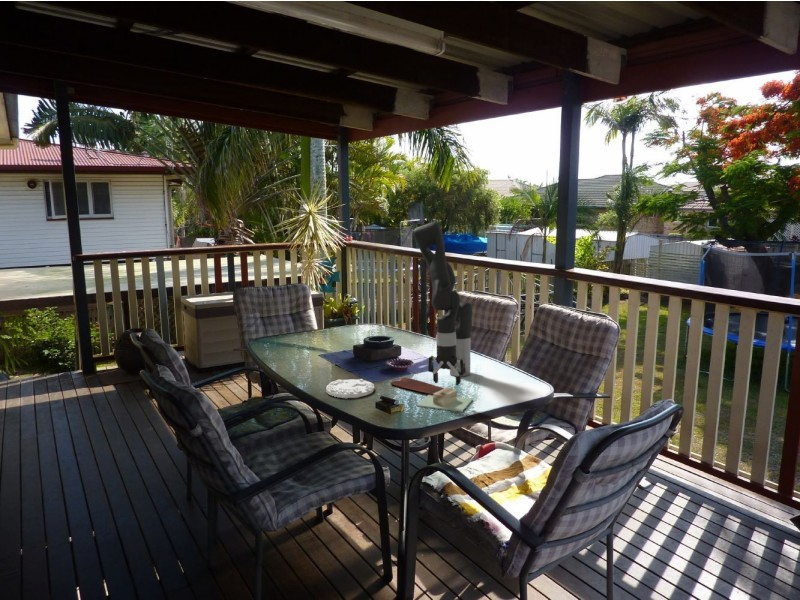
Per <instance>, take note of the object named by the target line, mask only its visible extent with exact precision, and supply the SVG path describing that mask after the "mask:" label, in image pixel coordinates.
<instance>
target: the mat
mask: <svg viewBox="0 0 800 600" xmlns="http://www.w3.org/2000/svg"><path fill="white" fill-rule="evenodd" d="M472 400H473V401H474V399H473V398H469V397H461V396H457V400H456V401H454V402H452V403H450V404H448V405H446V406H440V405H436V404H433V394H429V393H428V394H427V395H426V397H424V398H423V399H422V400H421V401H420V402H419V403H417V404H416V407H419V408H425V407H426V408H427V409H433V408H435V409H434V410H440V409H442V410H441V411H448V410H453V411H452V412H456V411H460V412H459V413H463V412H464V411H465V410H466V409H467V407H469V405H470V404H471V403H472V402H473V401H472ZM471 401H472V402H471ZM465 408H466V409H465ZM464 409H465V410H464ZM463 410H464V411H463Z"/></svg>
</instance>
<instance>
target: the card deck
mask: <svg viewBox="0 0 800 600" xmlns="http://www.w3.org/2000/svg"><path fill="white" fill-rule="evenodd" d="M457 397H458V390H457V389H455V388H454V389H453V388H450V387H445V388H444V389H442V390H440V391H438V392H436V393H434V394H433V404H436V405H440V406H446V405H448V404H450V403H452V402H454V401H456V400H457Z"/></svg>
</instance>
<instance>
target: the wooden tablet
mask: <svg viewBox="0 0 800 600" xmlns="http://www.w3.org/2000/svg"><path fill="white" fill-rule="evenodd" d="M390 384H391V385H392V386H396V387H399V388H404V389H408V390H413V391H416V392H419V393H420V392H421V393H425V394H428V395H429V394H434V393H436V392H438V391H440V390H442V389H445V388H444V387H442V386H438V385H434V384H432V383H428V382H425V381H422V380H419V379H414V378H409V377H402V378H401V379H399V380H392V381H391V382H389V385H390Z"/></svg>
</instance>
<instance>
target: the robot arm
mask: <svg viewBox="0 0 800 600" xmlns="http://www.w3.org/2000/svg"><path fill="white" fill-rule="evenodd" d="M412 233H413V238H414V241H415V242H416V244H417V247H418V249H419V251H420V252H421V254H422V257H423V259H424V261H425V263H426V265H427V268H428V270H429V276H430V280H431V285H432V296H431V306H432V308H433V309H434V310H435V311H444V313H445V314H442V315H440V316H438V317H437V318H436V338H435V339H436V341H435V342H436V356H434V355H431V356H429V357H428V365H427V366H428V367H427V370H428V373H431V374H432V377H433V378H432V380H433V382H434V384H438V383H439V373H438V371H439V370H440V369H442V370H448V371H449V375H451V376H453V377H455V385H456V386H459V385H460V384H461V382H462V378H461V377H467V376H468V377H469V376H471V333H472V328H473V307H472V304H471V303H470V302H468V301H461V297H460V294H459V293H458V291H455V290H454V287H455V285H456V279H457V278H456V275H455V273H454V270H453V268H452V265H451V264H450V263H449V262H447V260H446V249H445V240H444V236H443V231H442V227H441V226H440V224H439V222H437V221H432V222H429V223H426V224H423V225H420V226H417V227H415V228H414V229H413V232H412ZM434 246H435V251H434V252H433V251H432V250H431V249H430V248H432V247H434ZM456 323H459V326H458V327H457V328H456ZM434 362H436V363H437V366H435V368H434Z"/></svg>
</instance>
